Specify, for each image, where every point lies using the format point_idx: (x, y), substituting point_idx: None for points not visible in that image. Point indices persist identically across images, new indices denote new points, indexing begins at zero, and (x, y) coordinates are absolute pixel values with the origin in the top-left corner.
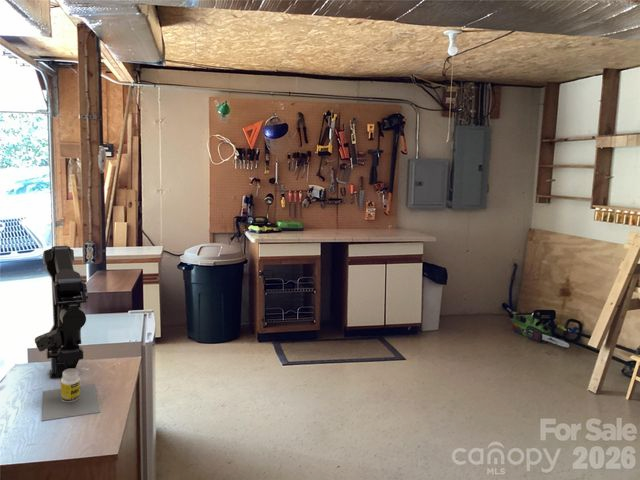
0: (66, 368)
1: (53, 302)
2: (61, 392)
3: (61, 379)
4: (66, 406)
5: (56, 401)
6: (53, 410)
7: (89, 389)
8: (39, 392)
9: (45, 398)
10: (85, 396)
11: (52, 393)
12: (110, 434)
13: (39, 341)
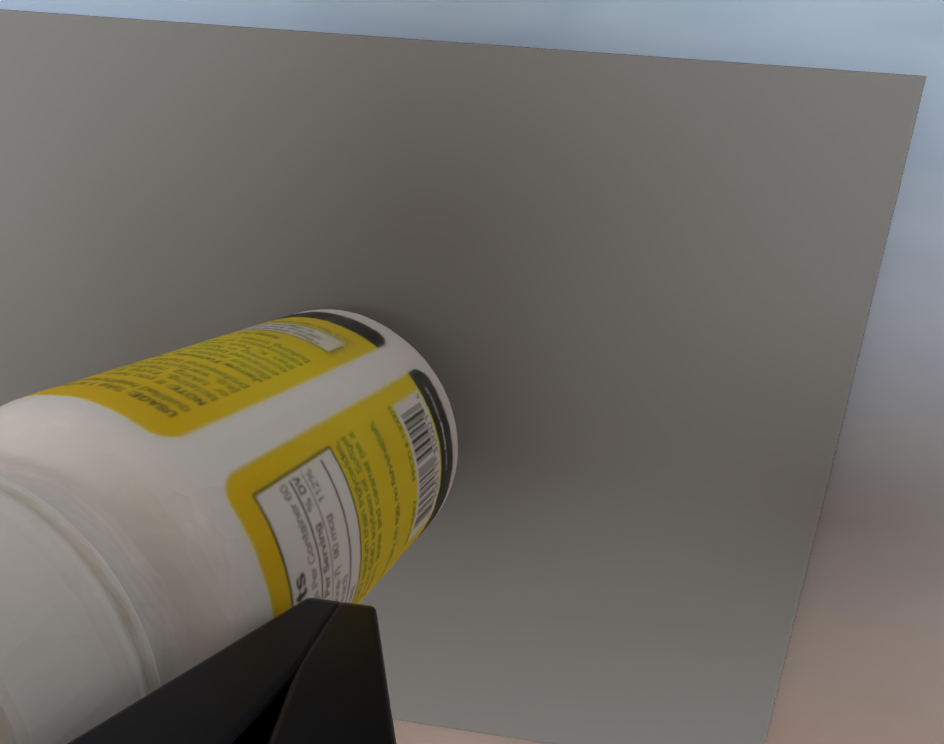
0: (115, 719)
1: None
2: (217, 337)
3: (53, 423)
4: (146, 344)
5: (367, 243)
6: (73, 175)
7: (604, 682)
8: (924, 20)
9: (559, 98)
10: (387, 597)
11: (718, 219)
12: None
13: None
